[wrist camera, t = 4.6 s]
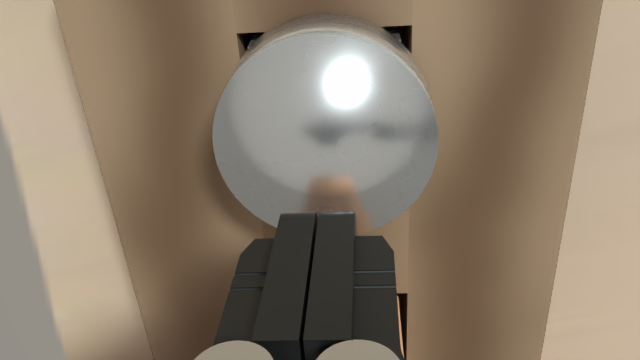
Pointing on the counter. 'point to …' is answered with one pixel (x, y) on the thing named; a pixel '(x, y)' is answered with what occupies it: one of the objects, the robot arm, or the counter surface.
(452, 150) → the knob mount
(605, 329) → the counter surface
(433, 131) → the knob
